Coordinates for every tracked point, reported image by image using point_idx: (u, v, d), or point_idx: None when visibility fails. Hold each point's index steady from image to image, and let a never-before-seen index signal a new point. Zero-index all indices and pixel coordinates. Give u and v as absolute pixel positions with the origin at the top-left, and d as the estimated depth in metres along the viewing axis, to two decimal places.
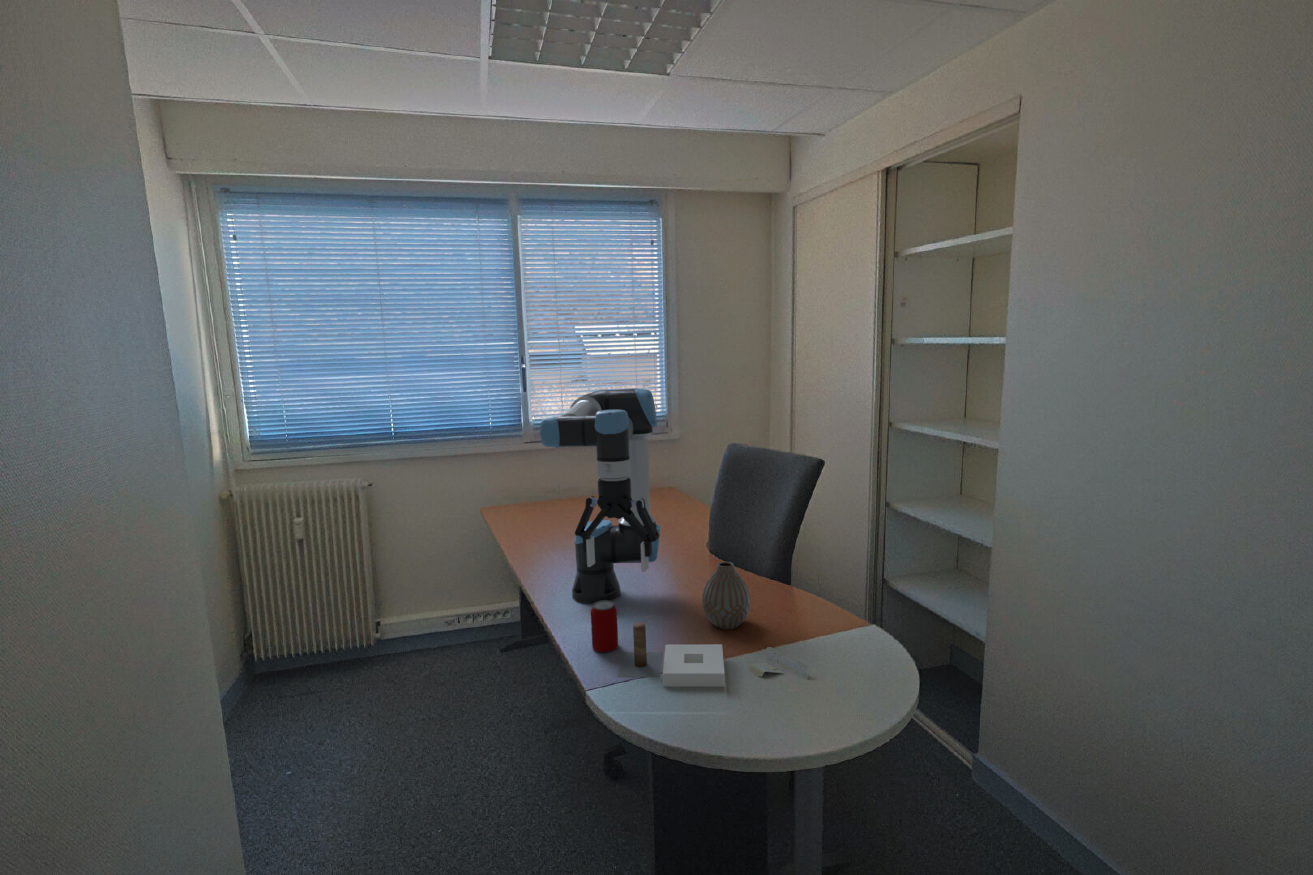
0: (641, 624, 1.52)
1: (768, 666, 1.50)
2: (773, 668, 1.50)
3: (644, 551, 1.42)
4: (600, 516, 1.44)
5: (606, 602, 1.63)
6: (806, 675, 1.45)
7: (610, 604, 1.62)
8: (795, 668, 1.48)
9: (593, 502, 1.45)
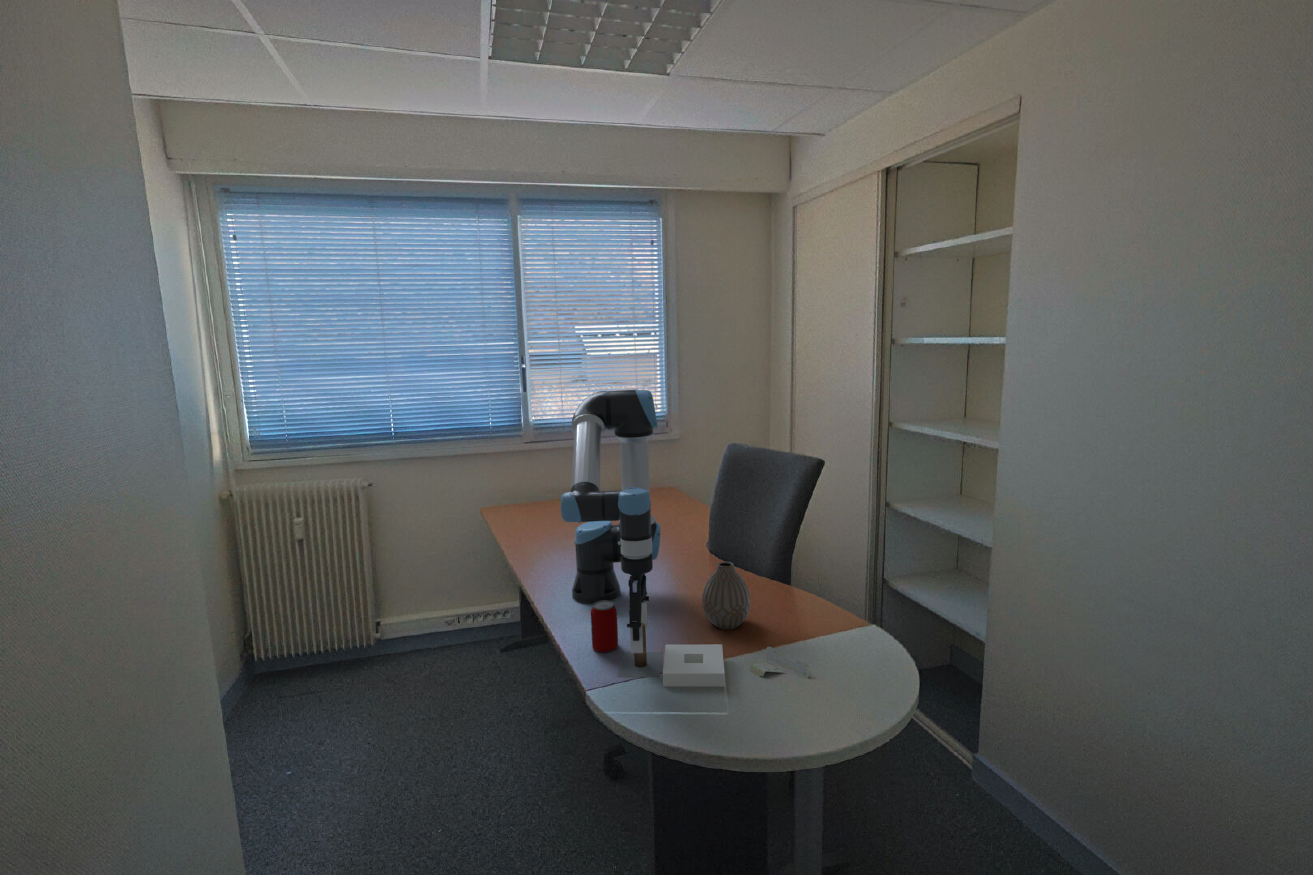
0: None
1: (769, 666, 1.50)
2: (773, 668, 1.50)
3: (631, 633, 1.44)
4: None
5: (606, 602, 1.63)
6: (807, 674, 1.46)
7: (610, 604, 1.62)
8: (795, 667, 1.49)
9: None
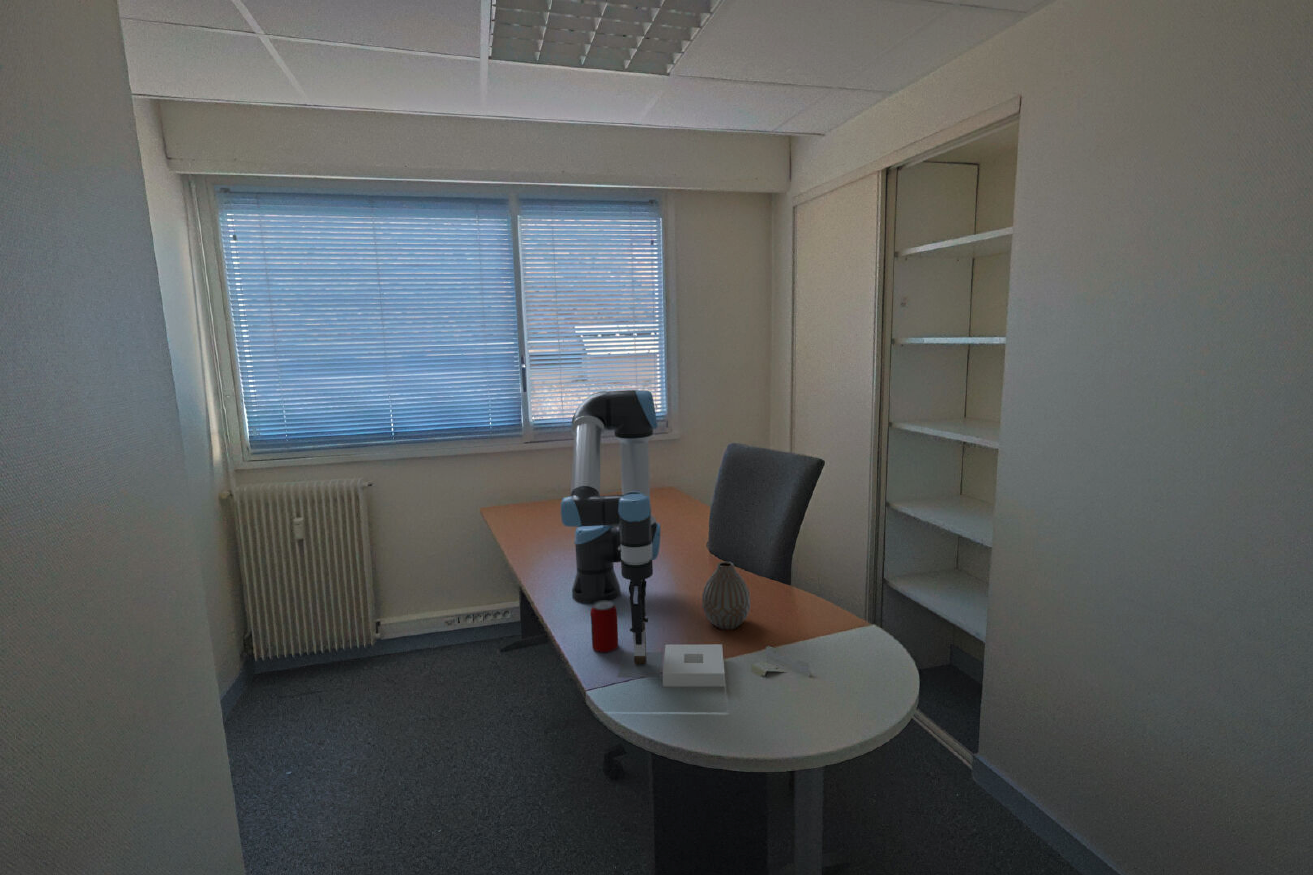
0: None
1: (769, 666, 1.51)
2: (774, 667, 1.50)
3: (634, 637, 1.51)
4: None
5: (606, 602, 1.63)
6: (808, 673, 1.46)
7: (610, 604, 1.62)
8: (795, 666, 1.49)
9: None
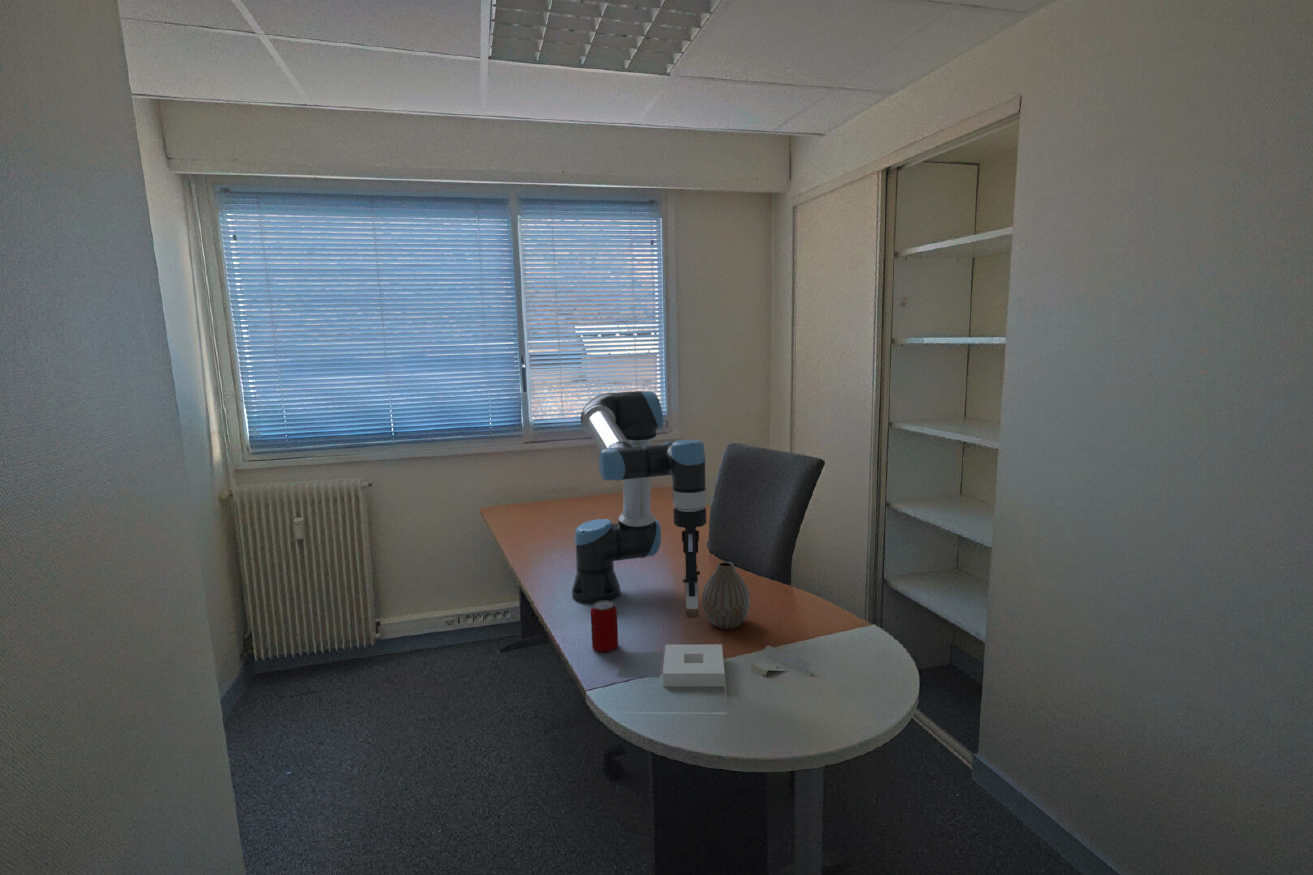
0: None
1: (770, 665, 1.51)
2: (774, 666, 1.50)
3: (687, 589, 1.45)
4: None
5: (606, 602, 1.63)
6: (808, 672, 1.47)
7: (610, 604, 1.62)
8: (796, 665, 1.49)
9: None
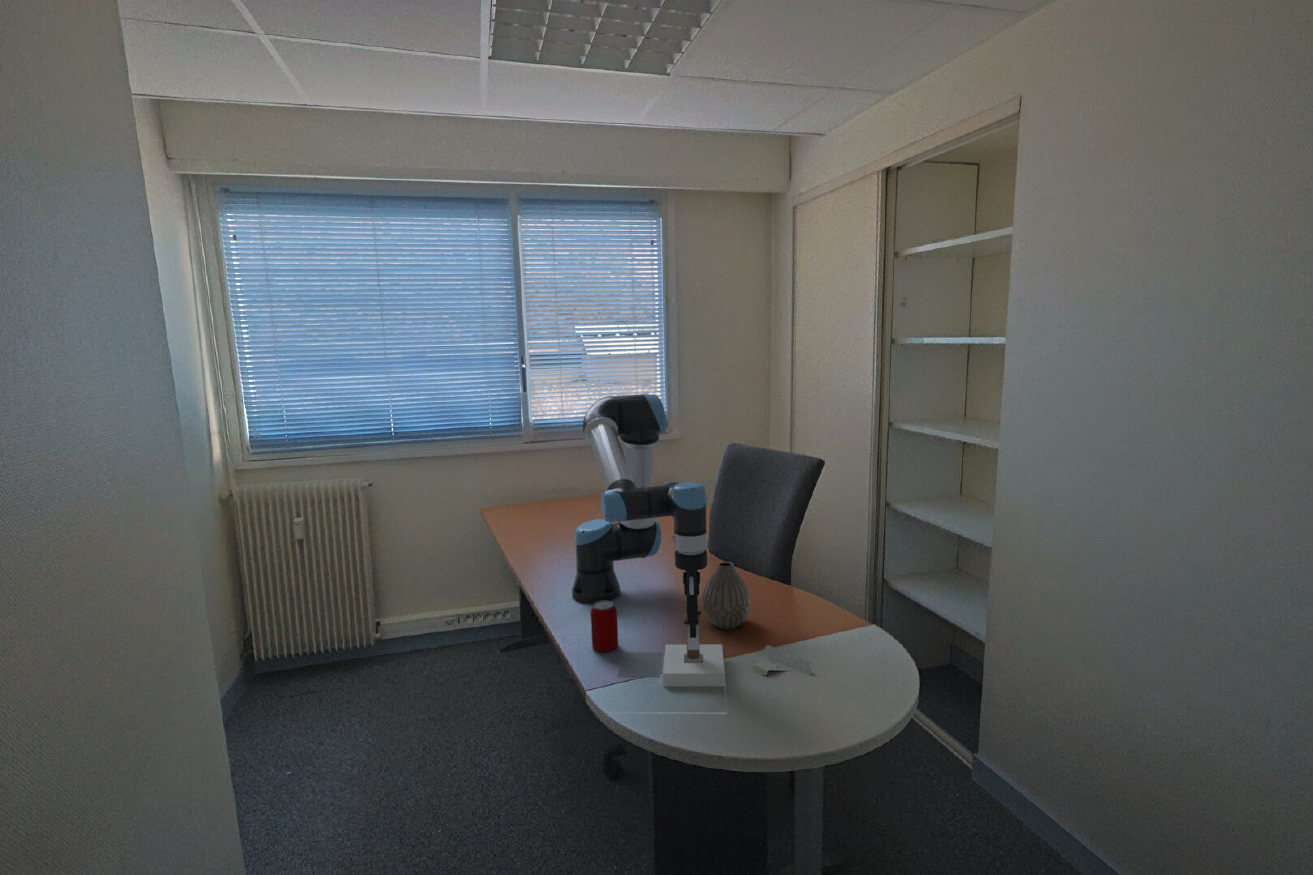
0: None
1: (770, 665, 1.51)
2: (775, 666, 1.51)
3: (688, 630, 1.46)
4: None
5: (606, 602, 1.63)
6: (809, 671, 1.47)
7: (610, 604, 1.62)
8: (796, 664, 1.50)
9: None
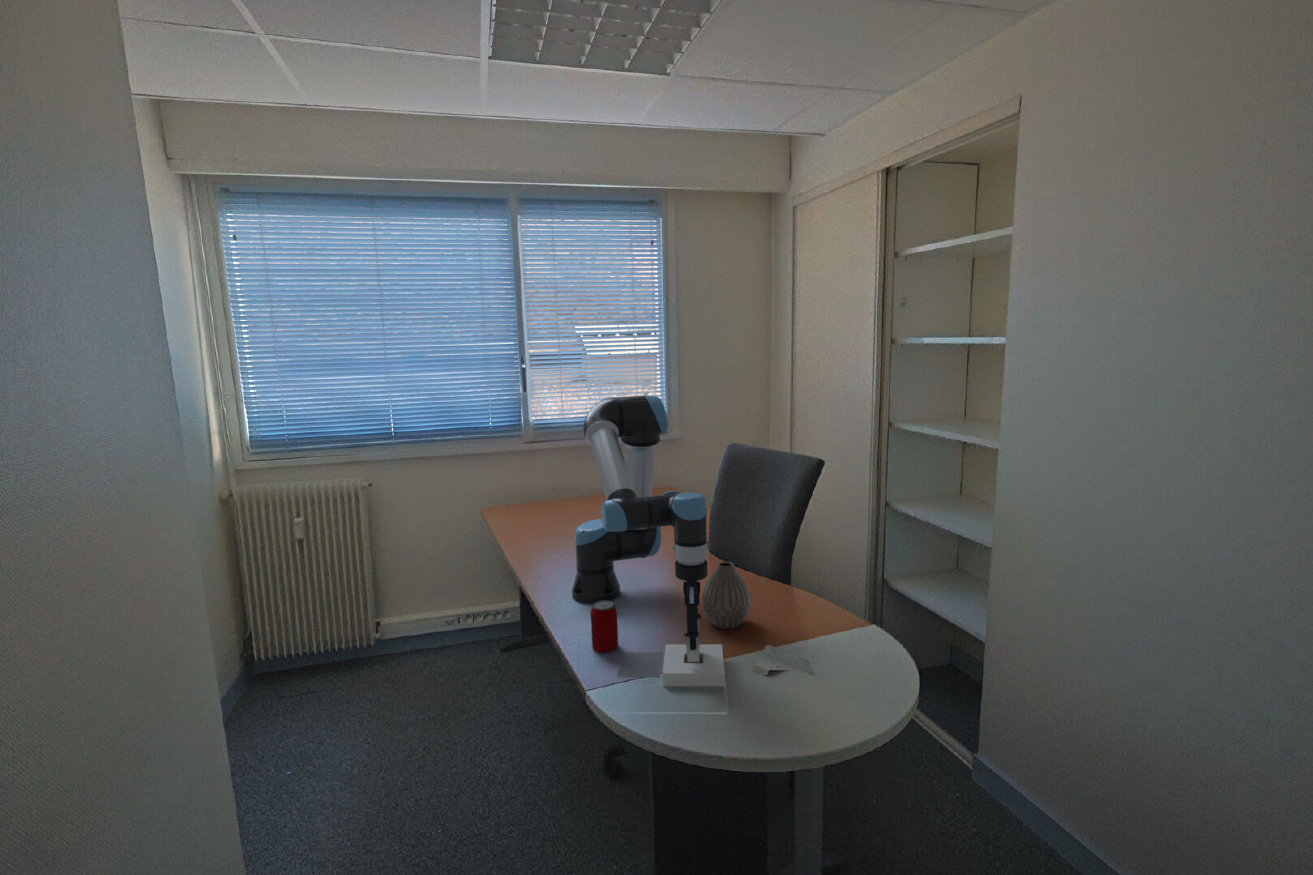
0: None
1: (770, 664, 1.51)
2: (775, 666, 1.51)
3: (688, 642, 1.44)
4: None
5: (606, 602, 1.63)
6: (809, 670, 1.47)
7: (610, 604, 1.62)
8: (796, 664, 1.50)
9: None
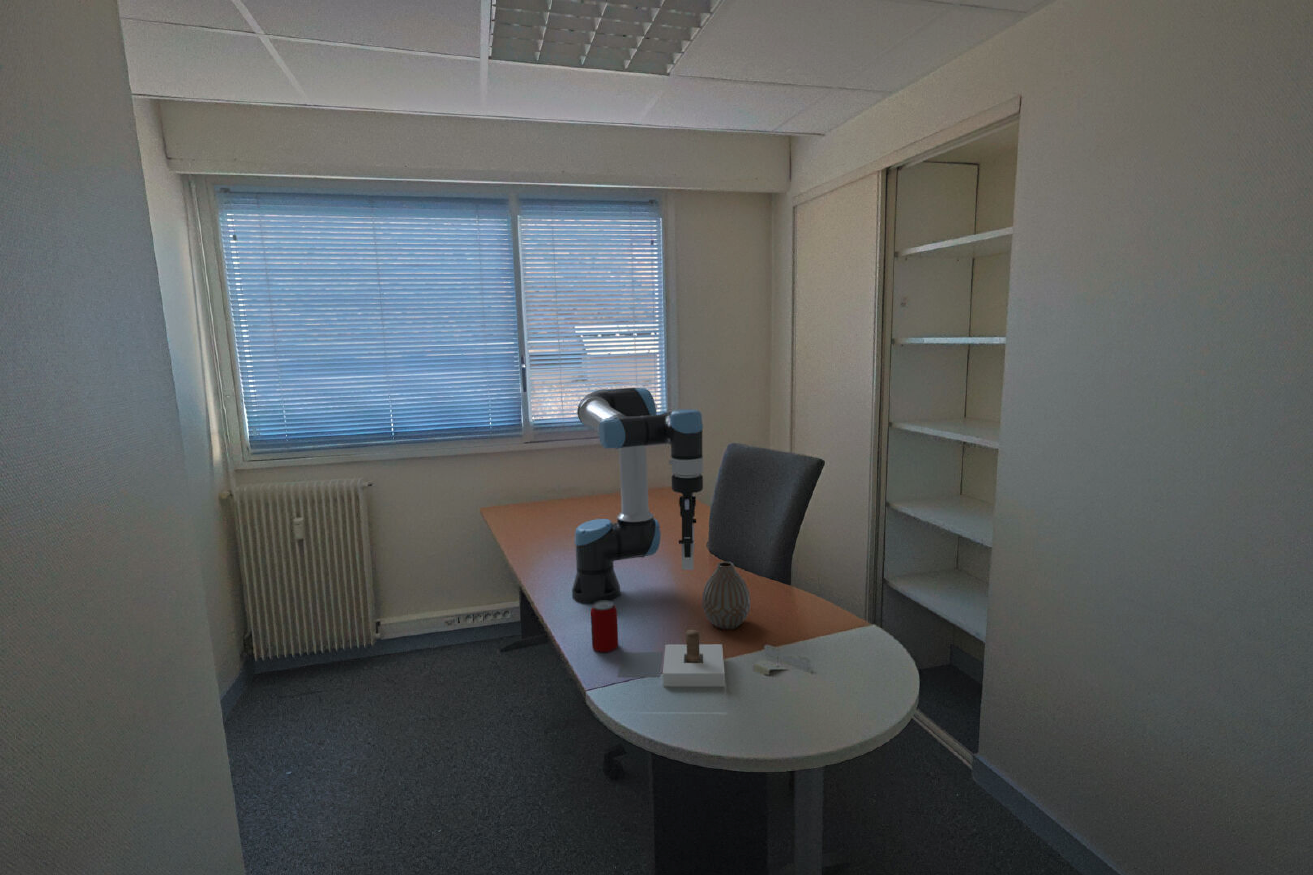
0: (694, 631, 1.49)
1: (771, 664, 1.51)
2: (775, 665, 1.51)
3: (683, 550, 1.46)
4: None
5: (606, 602, 1.63)
6: (810, 669, 1.48)
7: (610, 604, 1.62)
8: (797, 663, 1.51)
9: None
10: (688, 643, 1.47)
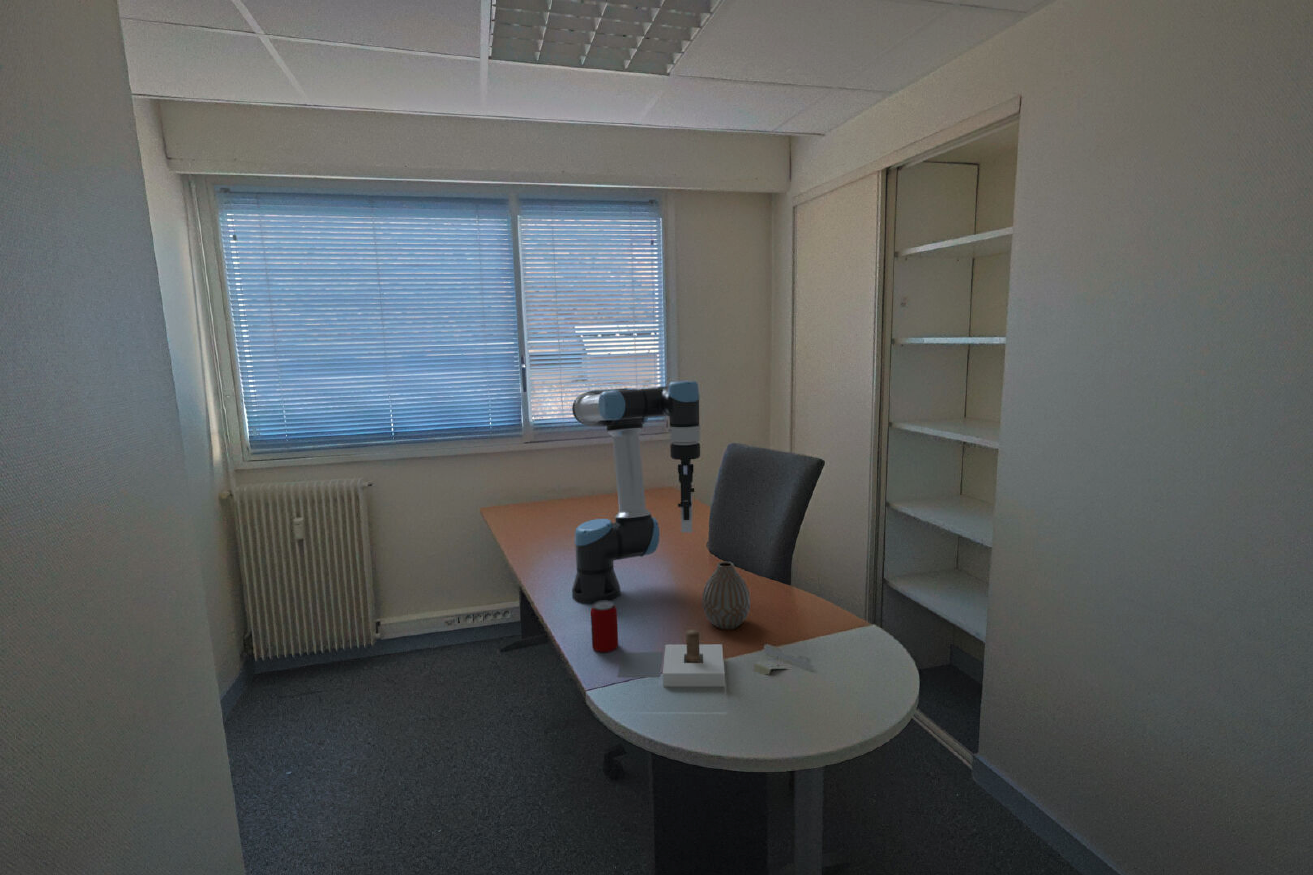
0: (694, 631, 1.49)
1: (771, 663, 1.52)
2: (776, 664, 1.51)
3: (682, 513, 1.53)
4: None
5: (606, 602, 1.63)
6: (810, 668, 1.48)
7: (610, 604, 1.62)
8: (797, 662, 1.51)
9: None
10: (688, 643, 1.47)
